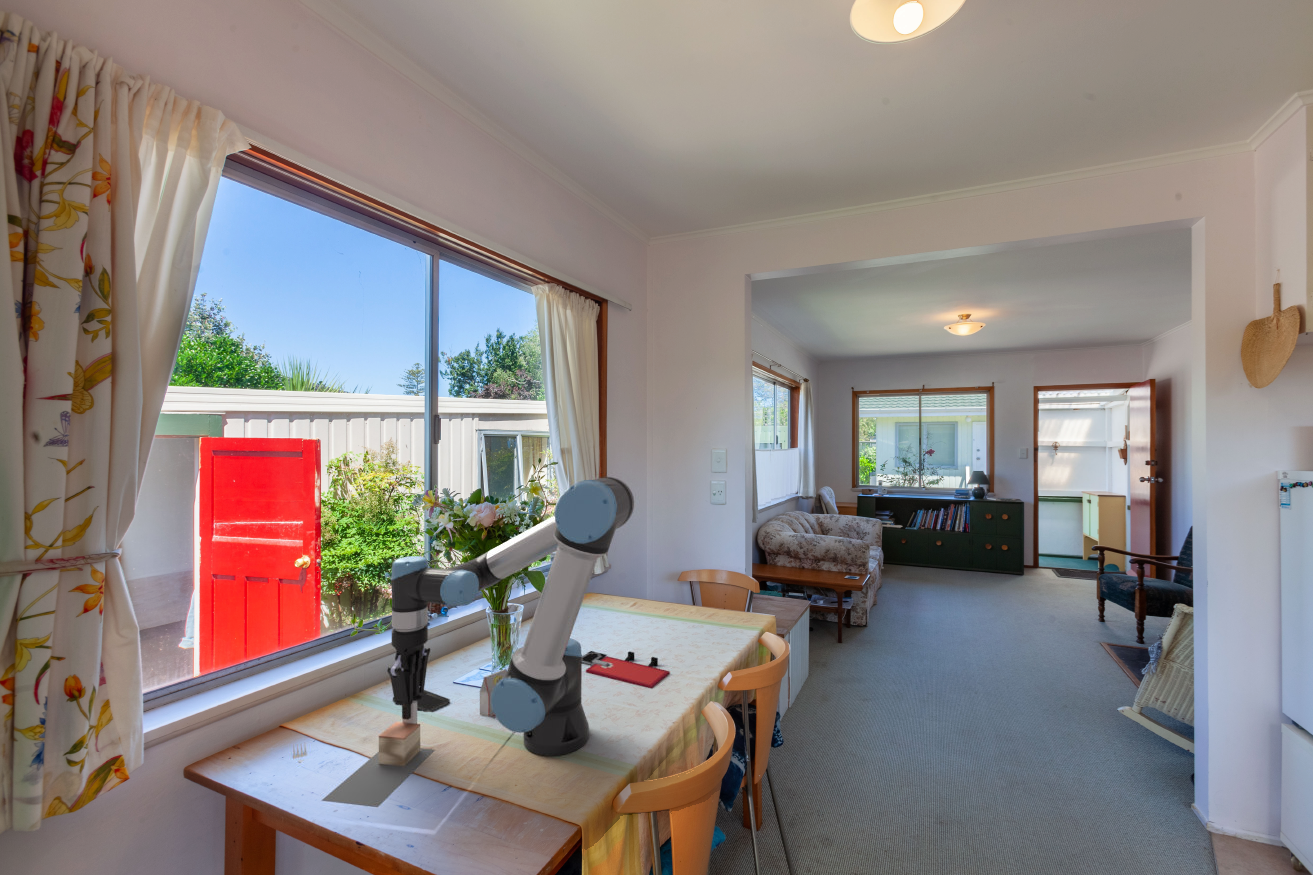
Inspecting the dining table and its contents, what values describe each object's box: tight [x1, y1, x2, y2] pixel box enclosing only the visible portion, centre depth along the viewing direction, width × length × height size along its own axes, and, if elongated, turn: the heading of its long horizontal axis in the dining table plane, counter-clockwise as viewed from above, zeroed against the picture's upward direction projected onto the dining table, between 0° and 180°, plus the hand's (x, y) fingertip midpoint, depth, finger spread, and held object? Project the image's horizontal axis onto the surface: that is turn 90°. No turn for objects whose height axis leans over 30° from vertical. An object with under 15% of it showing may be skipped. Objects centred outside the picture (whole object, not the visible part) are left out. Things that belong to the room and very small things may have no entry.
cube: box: [378, 721, 421, 766], centre depth 125 cm, size 6×6×6 cm
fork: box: [292, 742, 308, 764], centre depth 122 cm, size 3×16×2 cm, turn 36°
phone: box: [392, 689, 451, 713], centre depth 153 cm, size 8×1×15 cm
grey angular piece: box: [479, 668, 508, 718], centre depth 147 cm, size 4×7×10 cm, turn 141°
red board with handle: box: [582, 650, 671, 689], centre depth 174 cm, size 30×3×15 cm
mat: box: [321, 747, 435, 808], centre depth 119 cm, size 12×20×1 cm, turn 171°
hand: (409, 730), depth 129 cm, fingers closed
